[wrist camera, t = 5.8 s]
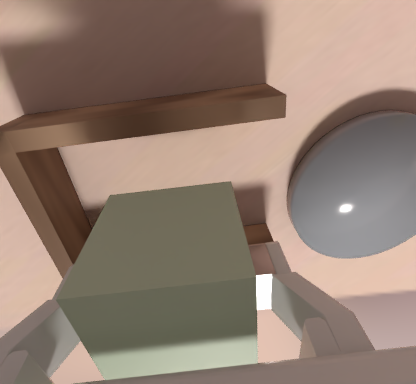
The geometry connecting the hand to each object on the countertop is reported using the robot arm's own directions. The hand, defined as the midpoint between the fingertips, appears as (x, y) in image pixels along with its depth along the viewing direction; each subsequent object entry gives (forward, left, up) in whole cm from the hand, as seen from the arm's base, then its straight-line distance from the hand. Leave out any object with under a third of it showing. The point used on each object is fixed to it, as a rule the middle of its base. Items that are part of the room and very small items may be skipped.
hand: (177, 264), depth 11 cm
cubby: (0, 0, -8) cm, 8 cm away
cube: (0, 0, -2) cm, 2 cm away
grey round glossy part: (-13, +3, -8) cm, 15 cm away
